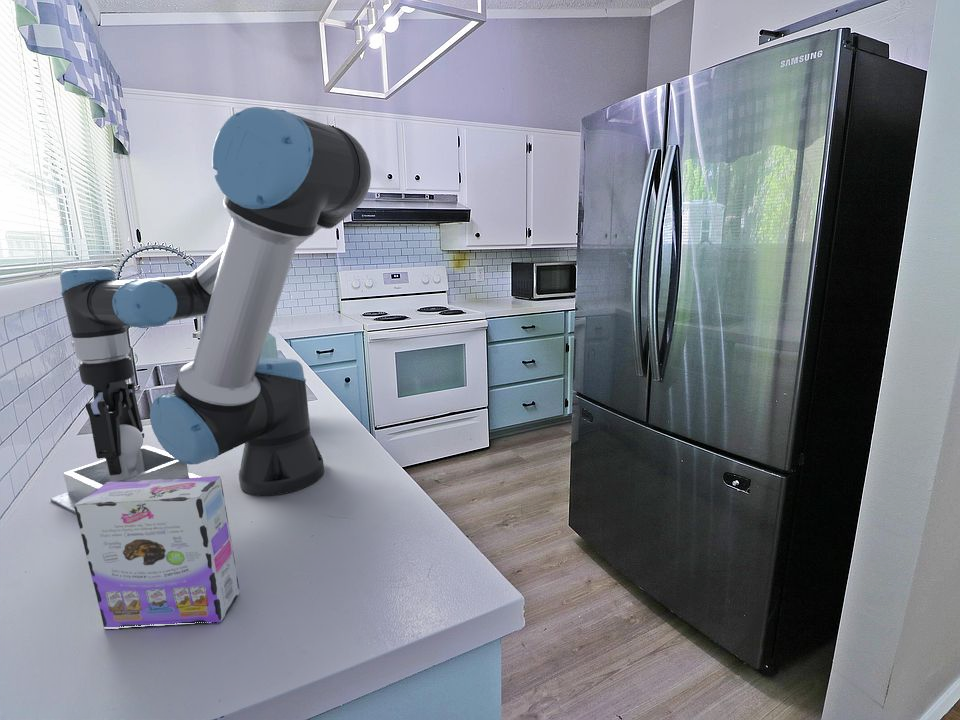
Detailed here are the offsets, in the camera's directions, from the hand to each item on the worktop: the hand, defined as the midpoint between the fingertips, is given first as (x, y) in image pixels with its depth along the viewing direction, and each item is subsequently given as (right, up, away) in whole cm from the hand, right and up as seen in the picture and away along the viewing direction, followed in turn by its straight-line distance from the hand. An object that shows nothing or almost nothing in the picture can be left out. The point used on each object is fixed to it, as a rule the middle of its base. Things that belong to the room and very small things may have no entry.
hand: (129, 481), depth 94 cm
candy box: (+27, -9, -31) cm, 42 cm away
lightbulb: (0, 0, 0) cm, 0 cm away
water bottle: (+10, +6, +36) cm, 37 cm away
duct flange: (0, -2, 0) cm, 2 cm away
